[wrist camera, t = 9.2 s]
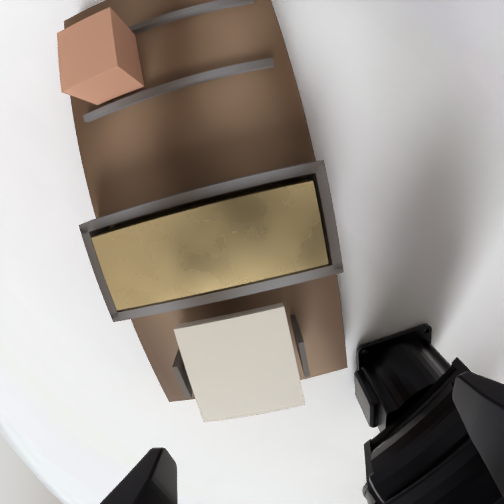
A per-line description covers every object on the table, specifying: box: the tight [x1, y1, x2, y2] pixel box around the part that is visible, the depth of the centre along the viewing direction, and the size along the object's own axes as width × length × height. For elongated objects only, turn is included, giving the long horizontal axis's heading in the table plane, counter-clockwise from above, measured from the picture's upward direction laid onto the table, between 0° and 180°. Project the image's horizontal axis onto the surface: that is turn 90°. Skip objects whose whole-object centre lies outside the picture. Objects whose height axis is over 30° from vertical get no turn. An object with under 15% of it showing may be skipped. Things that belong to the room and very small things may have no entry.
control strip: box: [64, 0, 347, 402], centre depth 16 cm, size 13×28×5 cm, turn 13°
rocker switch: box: [174, 302, 305, 422], centre depth 17 cm, size 6×6×1 cm
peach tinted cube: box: [57, 7, 145, 105], centre depth 12 cm, size 3×4×4 cm
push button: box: [91, 179, 328, 310], centre depth 15 cm, size 11×4×2 cm, turn 103°
